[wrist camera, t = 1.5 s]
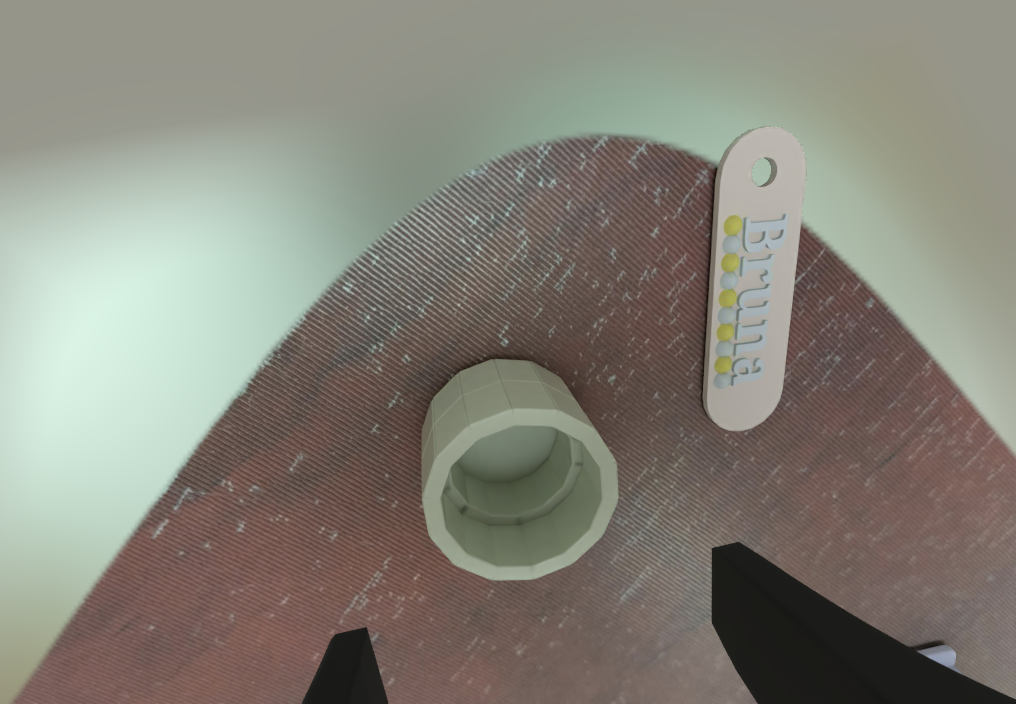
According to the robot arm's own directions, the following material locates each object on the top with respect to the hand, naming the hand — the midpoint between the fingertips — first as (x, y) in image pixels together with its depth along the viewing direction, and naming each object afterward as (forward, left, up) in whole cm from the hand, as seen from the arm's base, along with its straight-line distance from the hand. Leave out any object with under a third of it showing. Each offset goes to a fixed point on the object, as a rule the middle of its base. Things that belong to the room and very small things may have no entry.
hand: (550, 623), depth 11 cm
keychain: (-8, -4, -8) cm, 12 cm away
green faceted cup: (0, 0, -9) cm, 9 cm away
